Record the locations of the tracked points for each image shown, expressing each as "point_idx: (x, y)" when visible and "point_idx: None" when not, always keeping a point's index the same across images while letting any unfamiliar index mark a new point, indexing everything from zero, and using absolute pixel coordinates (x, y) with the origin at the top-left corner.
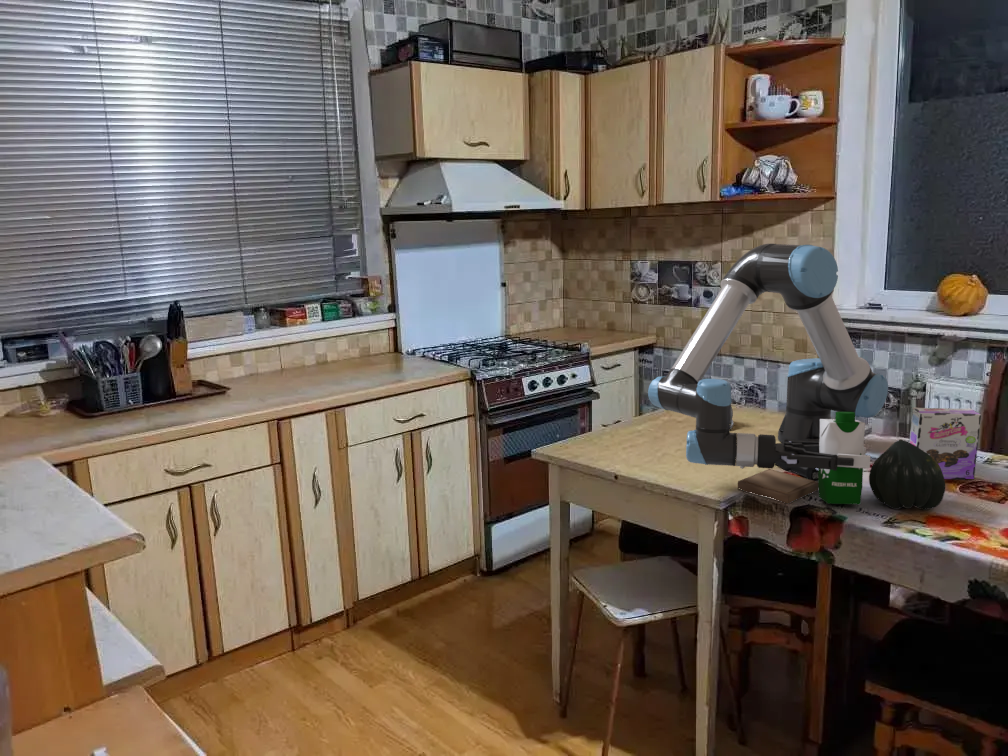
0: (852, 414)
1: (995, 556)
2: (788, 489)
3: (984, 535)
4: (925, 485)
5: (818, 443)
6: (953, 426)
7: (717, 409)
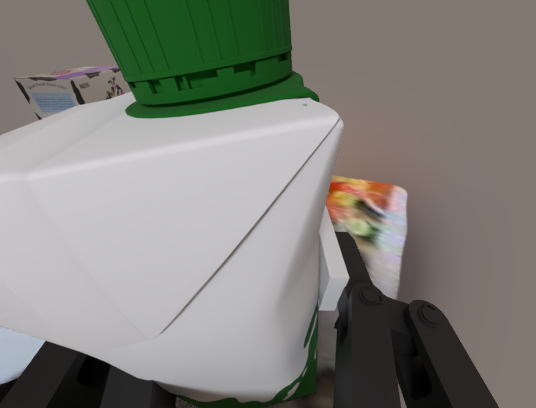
0: None
1: (394, 186)
2: None
3: (334, 182)
4: None
5: (68, 375)
6: (116, 95)
7: None
